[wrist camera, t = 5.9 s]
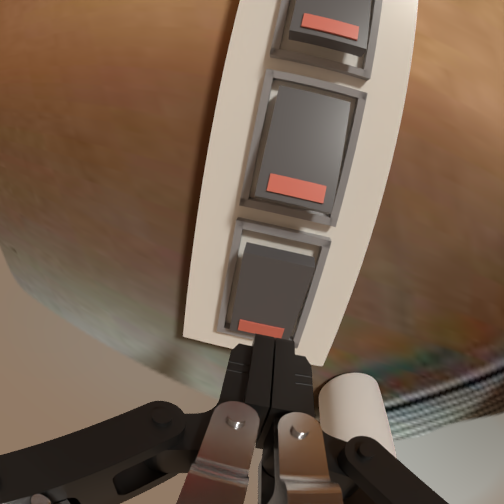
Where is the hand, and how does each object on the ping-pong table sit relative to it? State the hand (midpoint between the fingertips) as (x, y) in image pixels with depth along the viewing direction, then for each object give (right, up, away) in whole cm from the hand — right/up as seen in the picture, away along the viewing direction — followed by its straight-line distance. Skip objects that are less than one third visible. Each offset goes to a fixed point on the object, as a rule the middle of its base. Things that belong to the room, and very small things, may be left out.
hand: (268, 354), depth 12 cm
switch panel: (+3, +12, +11) cm, 16 cm away
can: (+10, -11, +18) cm, 23 cm away
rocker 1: (+4, +19, +2) cm, 20 cm away
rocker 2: (+2, +10, +6) cm, 12 cm away
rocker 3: (+1, +1, +10) cm, 10 cm away
